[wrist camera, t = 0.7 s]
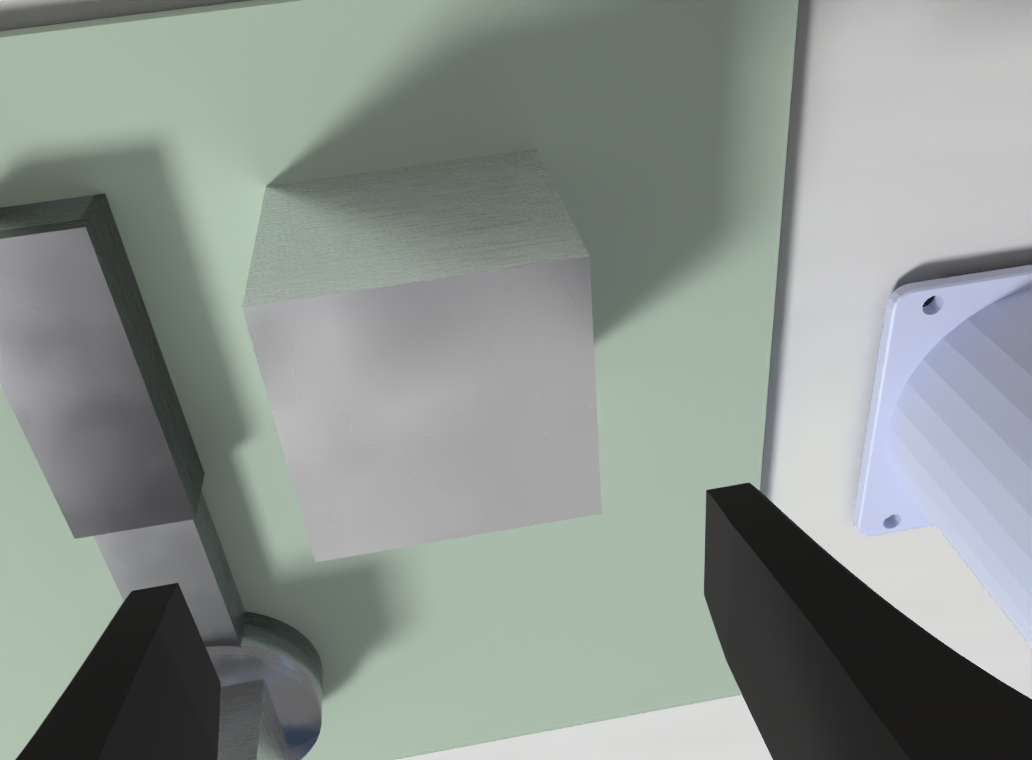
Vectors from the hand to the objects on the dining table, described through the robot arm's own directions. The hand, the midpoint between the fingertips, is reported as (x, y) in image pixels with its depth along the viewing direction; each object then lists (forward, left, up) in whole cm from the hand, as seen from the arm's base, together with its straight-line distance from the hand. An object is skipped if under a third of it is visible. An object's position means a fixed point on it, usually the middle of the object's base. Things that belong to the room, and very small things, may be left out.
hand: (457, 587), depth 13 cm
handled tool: (+7, +5, -9) cm, 12 cm away
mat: (+5, +5, -9) cm, 12 cm away
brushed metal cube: (0, 0, -9) cm, 9 cm away
